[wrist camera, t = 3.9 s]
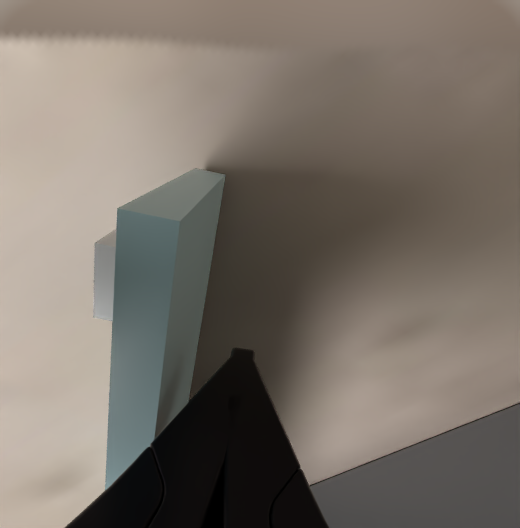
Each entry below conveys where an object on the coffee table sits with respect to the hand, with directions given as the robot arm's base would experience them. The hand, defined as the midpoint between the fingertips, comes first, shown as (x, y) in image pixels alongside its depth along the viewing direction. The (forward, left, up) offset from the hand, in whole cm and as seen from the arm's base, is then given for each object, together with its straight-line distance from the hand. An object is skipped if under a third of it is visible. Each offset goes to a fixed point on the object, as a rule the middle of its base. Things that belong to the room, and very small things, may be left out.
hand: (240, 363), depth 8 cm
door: (-5, -2, -2) cm, 5 cm away
